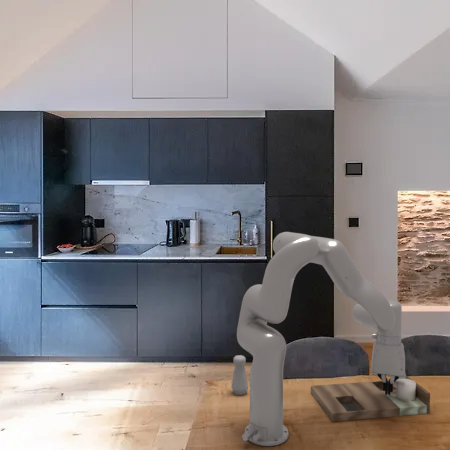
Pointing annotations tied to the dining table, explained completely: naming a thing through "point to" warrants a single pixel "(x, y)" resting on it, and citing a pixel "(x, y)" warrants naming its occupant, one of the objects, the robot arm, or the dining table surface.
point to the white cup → (406, 389)
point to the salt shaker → (239, 376)
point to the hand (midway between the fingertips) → (387, 393)
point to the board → (367, 401)
